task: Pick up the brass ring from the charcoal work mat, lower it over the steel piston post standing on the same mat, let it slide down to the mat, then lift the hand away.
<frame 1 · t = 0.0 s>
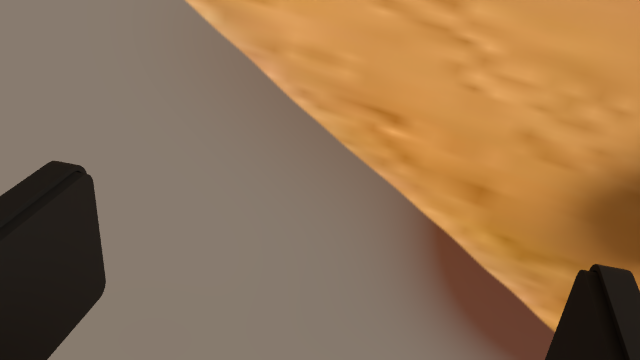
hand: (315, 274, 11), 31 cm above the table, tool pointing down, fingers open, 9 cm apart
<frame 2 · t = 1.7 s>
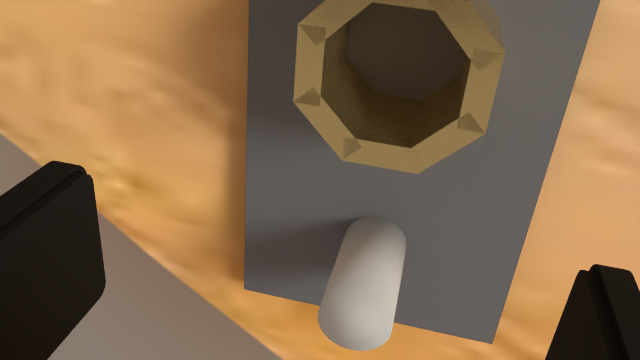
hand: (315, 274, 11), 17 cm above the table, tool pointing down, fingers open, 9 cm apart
piston stand: (391, 145, 28), on the table
brass ring: (406, 41, 24), point 1 cm above the table, touching piston stand
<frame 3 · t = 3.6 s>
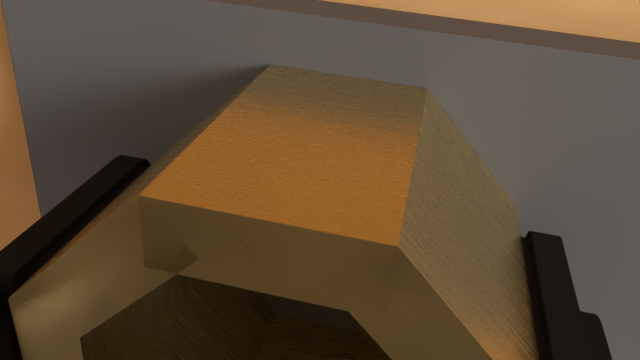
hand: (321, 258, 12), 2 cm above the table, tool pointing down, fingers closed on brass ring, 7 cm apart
brass ring: (330, 234, 12), point 1 cm above the table, touching gripper, piston stand
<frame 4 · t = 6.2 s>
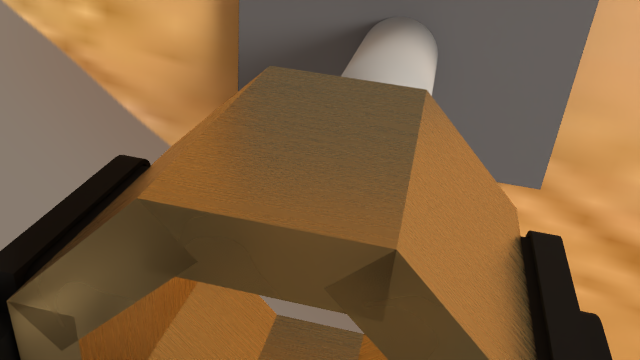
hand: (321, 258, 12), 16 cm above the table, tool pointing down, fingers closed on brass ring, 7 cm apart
brass ring: (329, 235, 12), point 15 cm above the table, touching gripper
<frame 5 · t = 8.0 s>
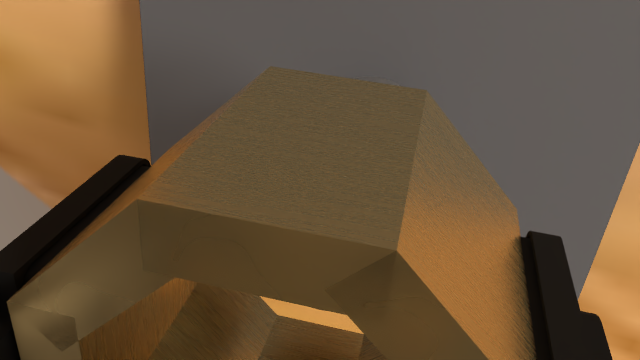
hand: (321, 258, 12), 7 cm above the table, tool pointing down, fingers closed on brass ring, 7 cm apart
brass ring: (329, 236, 12), point 7 cm above the table, touching gripper
when the fingers open (4 cm above the table, at t = 9.3 s): brass ring drops 2 cm, resting on piston stand.
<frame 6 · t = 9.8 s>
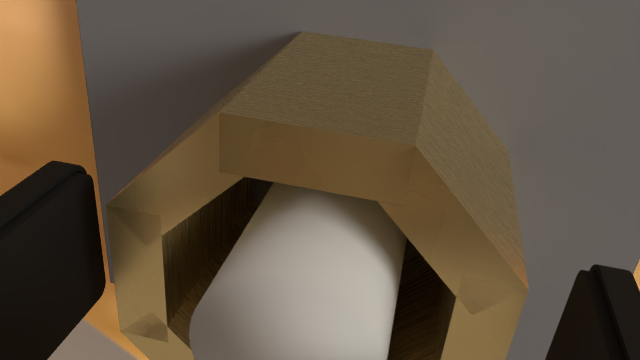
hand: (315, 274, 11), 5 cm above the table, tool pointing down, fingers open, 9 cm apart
brass ring: (349, 179, 14), point 1 cm above the table, touching piston stand
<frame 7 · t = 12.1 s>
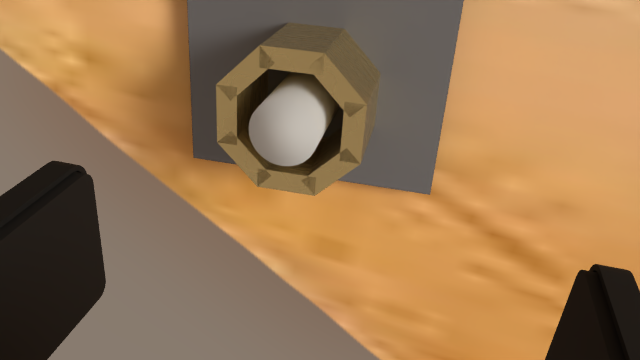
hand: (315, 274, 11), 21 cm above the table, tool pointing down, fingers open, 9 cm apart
brass ring: (312, 91, 31), point 1 cm above the table, touching piston stand
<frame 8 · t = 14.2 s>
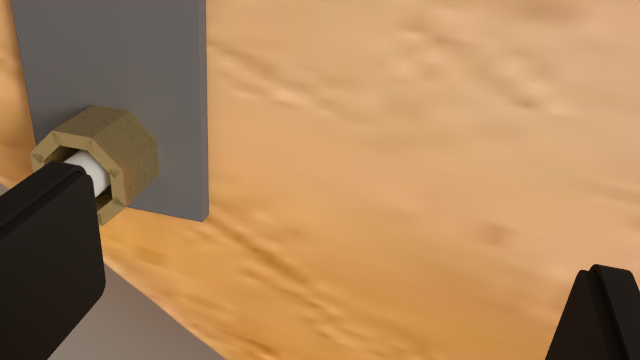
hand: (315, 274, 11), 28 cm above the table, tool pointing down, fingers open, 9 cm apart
piston stand: (118, 84, 43), on the table
brass ring: (115, 150, 44), point 1 cm above the table, touching piston stand
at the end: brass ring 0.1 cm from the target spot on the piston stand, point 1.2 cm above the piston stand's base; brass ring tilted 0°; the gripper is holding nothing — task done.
